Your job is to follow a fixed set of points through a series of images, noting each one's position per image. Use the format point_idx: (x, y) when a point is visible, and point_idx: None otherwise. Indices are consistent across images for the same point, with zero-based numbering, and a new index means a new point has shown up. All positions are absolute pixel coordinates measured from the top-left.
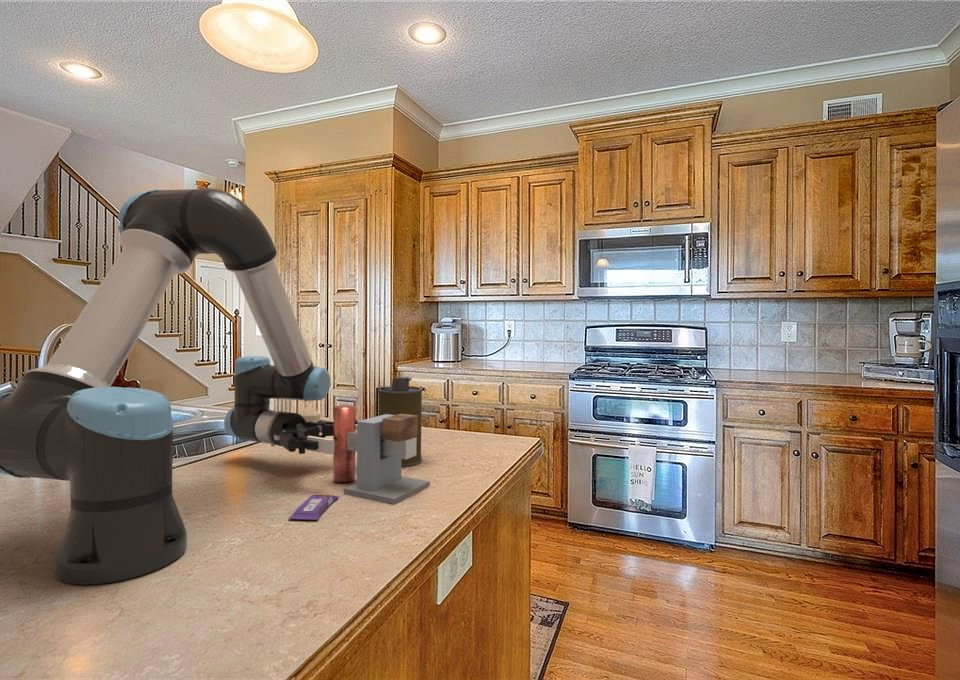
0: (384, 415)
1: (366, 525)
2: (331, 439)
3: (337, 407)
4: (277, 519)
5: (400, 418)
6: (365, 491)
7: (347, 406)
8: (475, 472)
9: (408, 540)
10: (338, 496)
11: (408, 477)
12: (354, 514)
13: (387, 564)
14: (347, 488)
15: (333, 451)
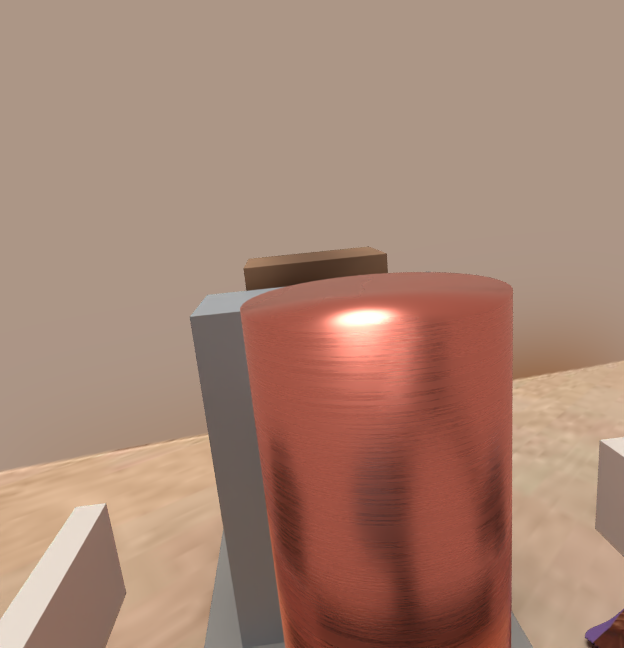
0: (236, 307)
1: (573, 453)
2: (620, 449)
3: (463, 292)
4: None
5: (334, 252)
6: None
7: (327, 296)
8: (32, 506)
9: (522, 396)
10: (588, 633)
11: (220, 561)
12: (578, 504)
13: (596, 378)
14: (520, 638)
15: (603, 513)
